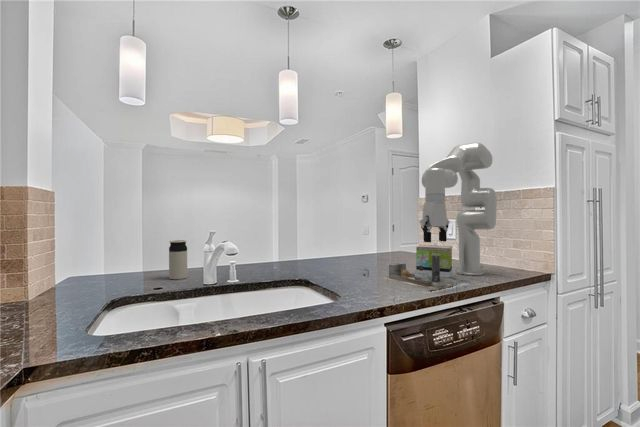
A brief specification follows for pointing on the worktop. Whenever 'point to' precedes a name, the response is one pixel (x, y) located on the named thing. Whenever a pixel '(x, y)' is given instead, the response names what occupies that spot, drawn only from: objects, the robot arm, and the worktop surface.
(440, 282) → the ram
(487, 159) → the robot arm
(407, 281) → the press bed
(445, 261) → the tea box
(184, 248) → the travel mug
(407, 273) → the walnut
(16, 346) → the worktop surface
